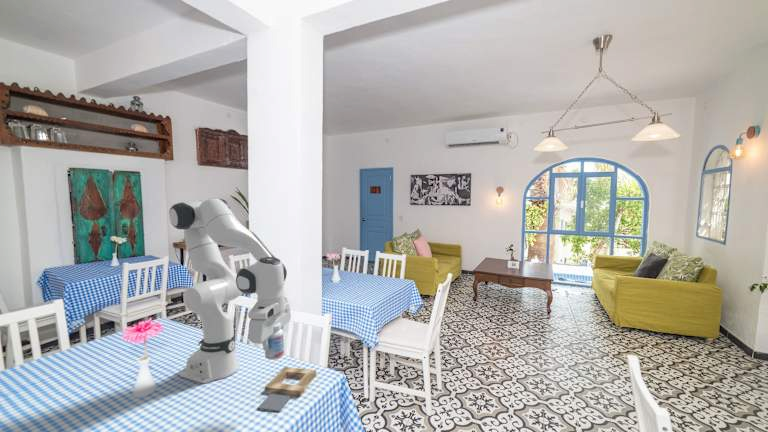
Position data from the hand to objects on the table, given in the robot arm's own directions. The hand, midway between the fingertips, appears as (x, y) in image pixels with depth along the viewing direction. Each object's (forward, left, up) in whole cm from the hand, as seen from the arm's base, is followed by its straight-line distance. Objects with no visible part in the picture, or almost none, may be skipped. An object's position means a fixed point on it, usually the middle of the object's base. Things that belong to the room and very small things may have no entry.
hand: (272, 344), depth 107 cm
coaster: (0, 0, -21) cm, 21 cm away
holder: (0, +12, -21) cm, 24 cm away
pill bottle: (+1, 0, -4) cm, 4 cm away
